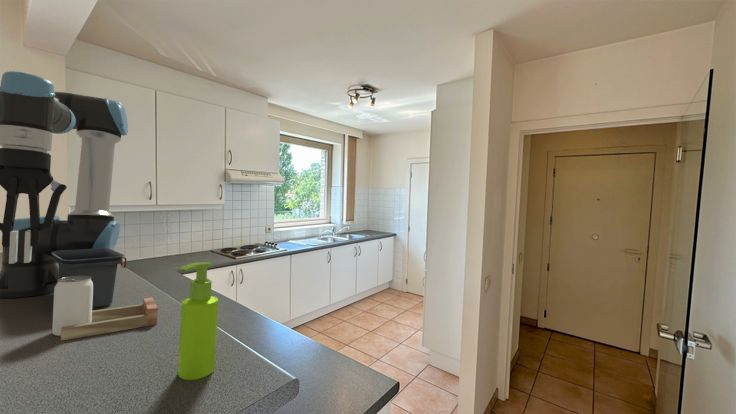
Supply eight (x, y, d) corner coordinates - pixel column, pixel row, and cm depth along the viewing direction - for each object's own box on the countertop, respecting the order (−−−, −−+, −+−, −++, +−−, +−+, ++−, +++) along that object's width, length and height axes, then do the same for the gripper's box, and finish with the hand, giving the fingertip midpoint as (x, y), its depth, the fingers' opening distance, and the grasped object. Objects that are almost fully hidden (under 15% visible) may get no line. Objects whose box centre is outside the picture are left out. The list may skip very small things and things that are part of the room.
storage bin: (45, 298, 91) (48, 250, 91) (112, 289, 103) (114, 246, 103) (60, 317, 78) (63, 260, 78) (134, 304, 90) (137, 255, 90)
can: (67, 338, 67) (69, 283, 67) (44, 334, 68) (46, 280, 68) (98, 327, 73) (101, 276, 73) (76, 324, 75) (79, 274, 75)
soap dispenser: (164, 377, 55) (170, 264, 55) (199, 360, 61) (204, 258, 61) (188, 386, 52) (194, 268, 52) (221, 367, 59) (227, 262, 59)
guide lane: (65, 324, 74) (66, 308, 74) (151, 311, 85) (152, 297, 85) (60, 340, 66) (61, 322, 66) (156, 324, 77) (157, 308, 77)
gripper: (-36, 141, 58) (-42, 268, 58) (71, 153, 67) (66, 262, 67) (-24, 146, 63) (-29, 261, 63) (74, 156, 73) (69, 256, 73)
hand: (20, 261), depth 65 cm, fingers closed
